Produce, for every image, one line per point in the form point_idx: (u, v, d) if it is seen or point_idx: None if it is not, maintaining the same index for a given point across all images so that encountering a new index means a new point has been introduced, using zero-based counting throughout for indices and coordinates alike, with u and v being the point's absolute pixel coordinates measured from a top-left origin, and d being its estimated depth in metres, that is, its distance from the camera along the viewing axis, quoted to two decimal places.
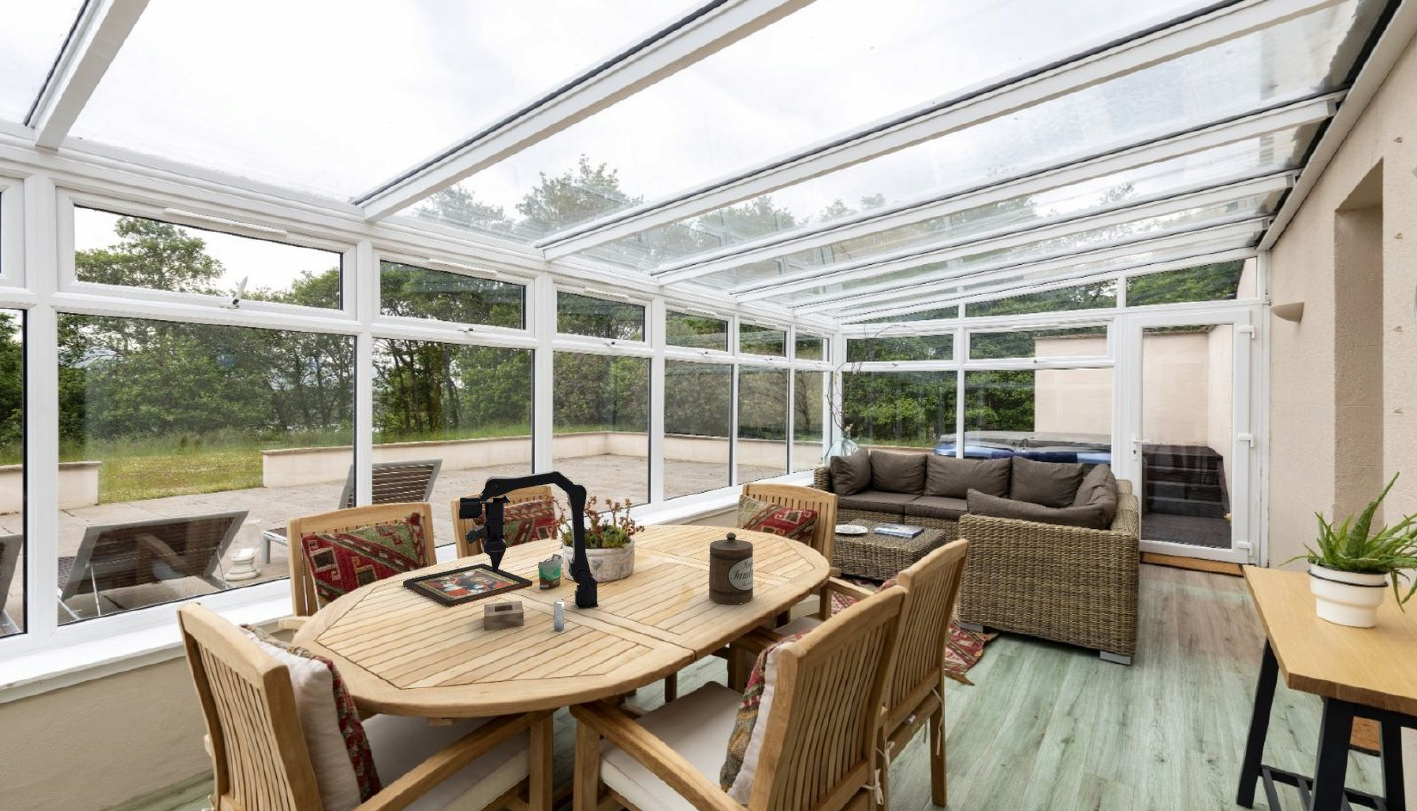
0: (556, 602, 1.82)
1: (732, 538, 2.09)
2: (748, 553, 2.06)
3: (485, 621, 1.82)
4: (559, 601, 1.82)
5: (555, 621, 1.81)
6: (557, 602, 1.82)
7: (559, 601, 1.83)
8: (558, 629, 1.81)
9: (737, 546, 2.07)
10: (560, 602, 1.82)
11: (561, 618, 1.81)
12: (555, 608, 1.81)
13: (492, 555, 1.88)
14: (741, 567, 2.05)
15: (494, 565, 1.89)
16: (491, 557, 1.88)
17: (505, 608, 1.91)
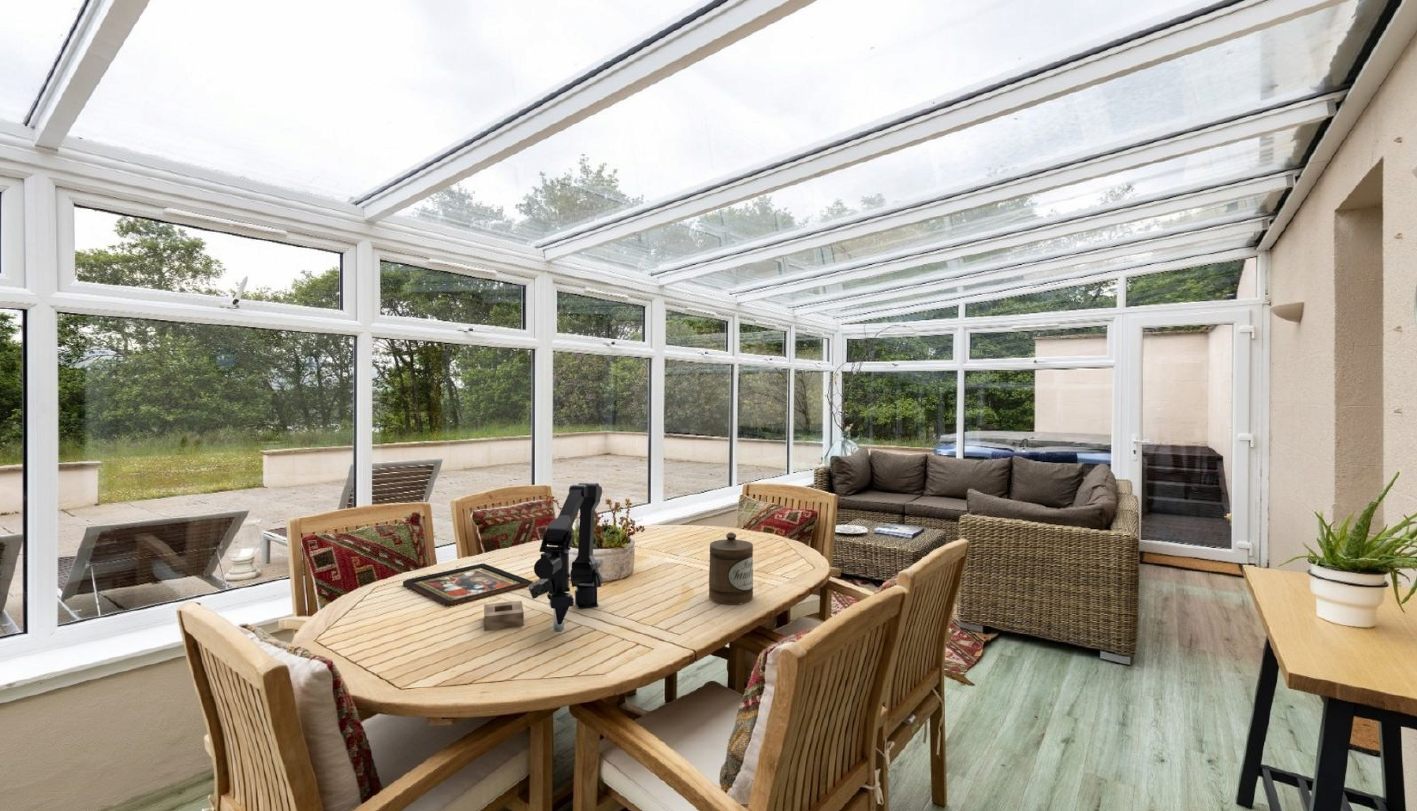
0: None
1: (732, 538, 2.09)
2: (748, 553, 2.06)
3: (485, 621, 1.82)
4: None
5: (555, 621, 1.81)
6: None
7: None
8: (558, 629, 1.81)
9: (737, 546, 2.07)
10: None
11: None
12: None
13: (557, 607, 1.79)
14: (741, 567, 2.05)
15: (559, 618, 1.80)
16: (556, 610, 1.79)
17: (505, 608, 1.91)
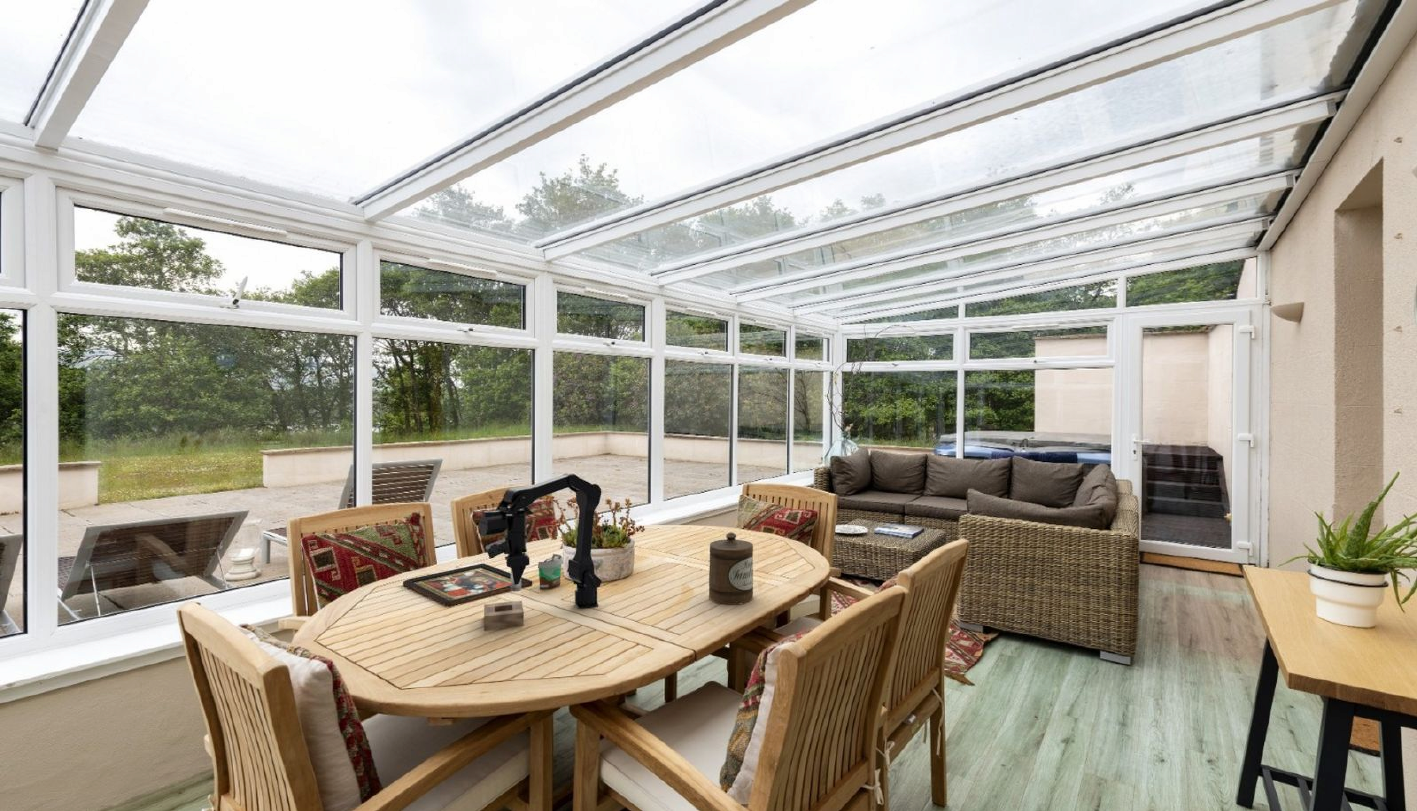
0: None
1: (732, 538, 2.09)
2: (748, 553, 2.06)
3: (485, 621, 1.82)
4: None
5: (512, 581, 1.85)
6: None
7: None
8: (515, 589, 1.85)
9: (737, 546, 2.07)
10: None
11: None
12: None
13: (514, 568, 1.83)
14: (741, 567, 2.05)
15: (516, 578, 1.84)
16: (513, 570, 1.83)
17: (505, 608, 1.91)
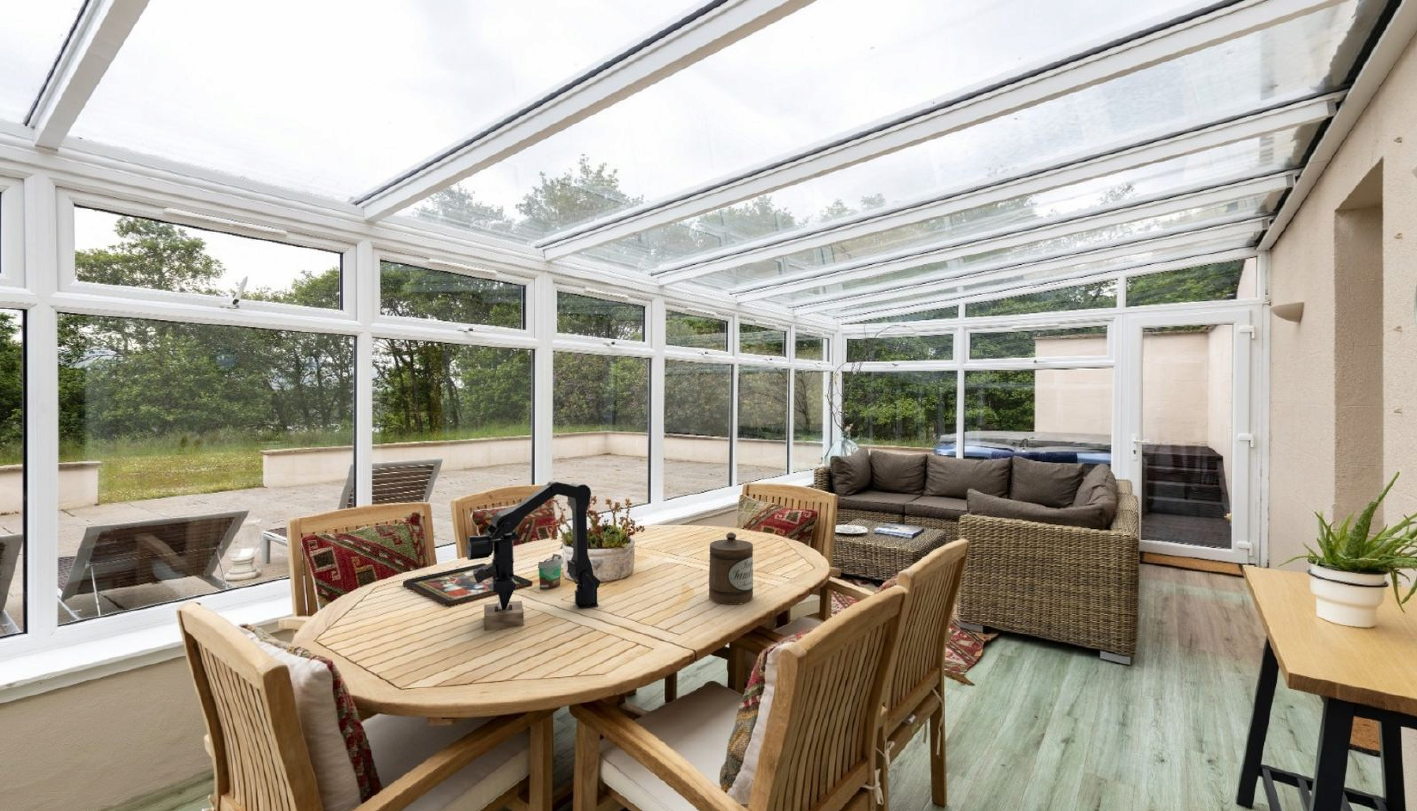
0: None
1: (732, 538, 2.09)
2: (748, 553, 2.06)
3: (485, 621, 1.82)
4: None
5: None
6: None
7: None
8: None
9: (737, 546, 2.07)
10: None
11: None
12: (499, 601, 1.87)
13: (501, 593, 1.84)
14: (741, 567, 2.05)
15: (503, 603, 1.85)
16: (500, 595, 1.84)
17: None
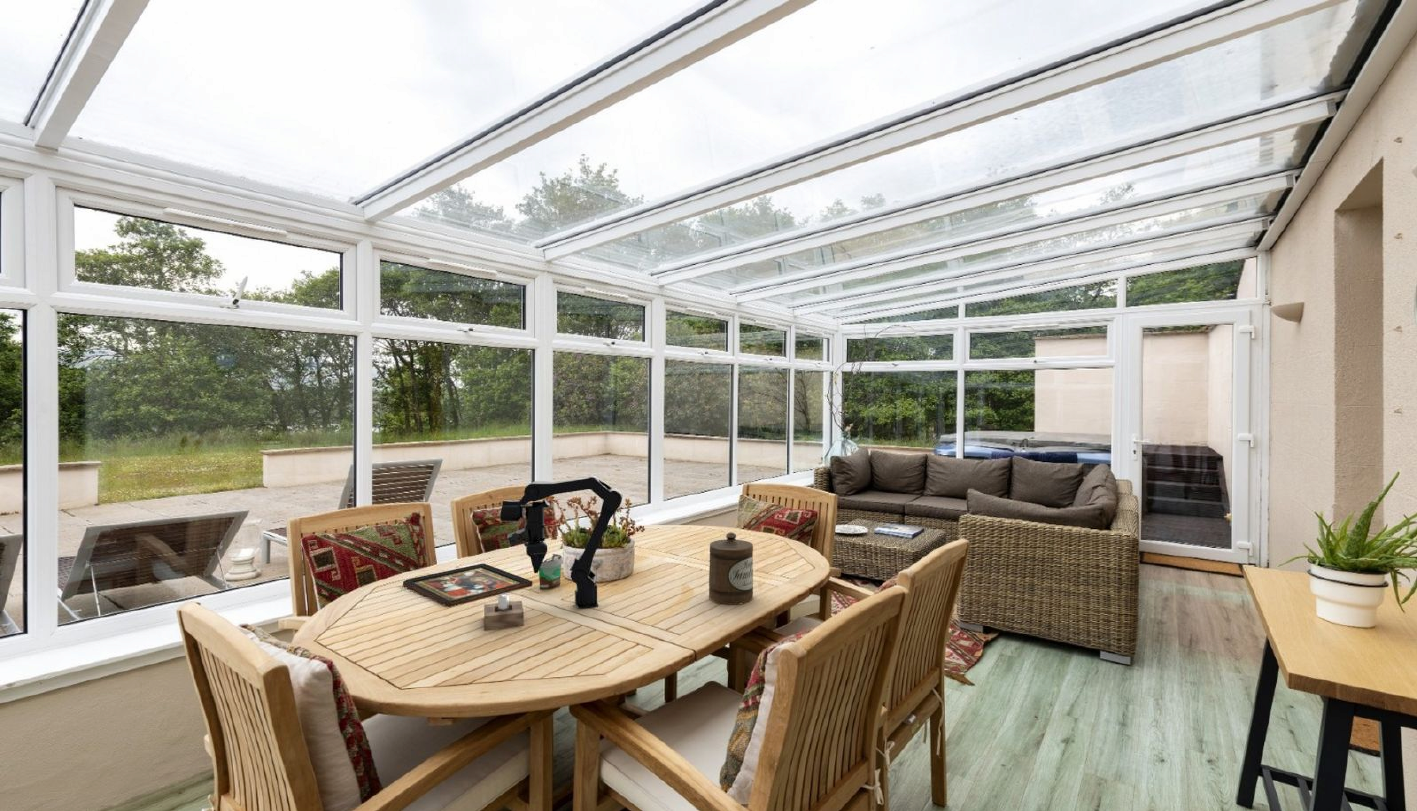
0: (501, 595, 1.88)
1: (732, 538, 2.09)
2: (748, 553, 2.06)
3: (485, 621, 1.82)
4: (504, 594, 1.89)
5: None
6: (501, 595, 1.88)
7: (504, 594, 1.89)
8: None
9: (737, 546, 2.07)
10: (504, 595, 1.88)
11: None
12: (499, 601, 1.87)
13: (533, 557, 1.96)
14: (741, 567, 2.05)
15: (535, 567, 1.97)
16: (533, 559, 1.96)
17: None
